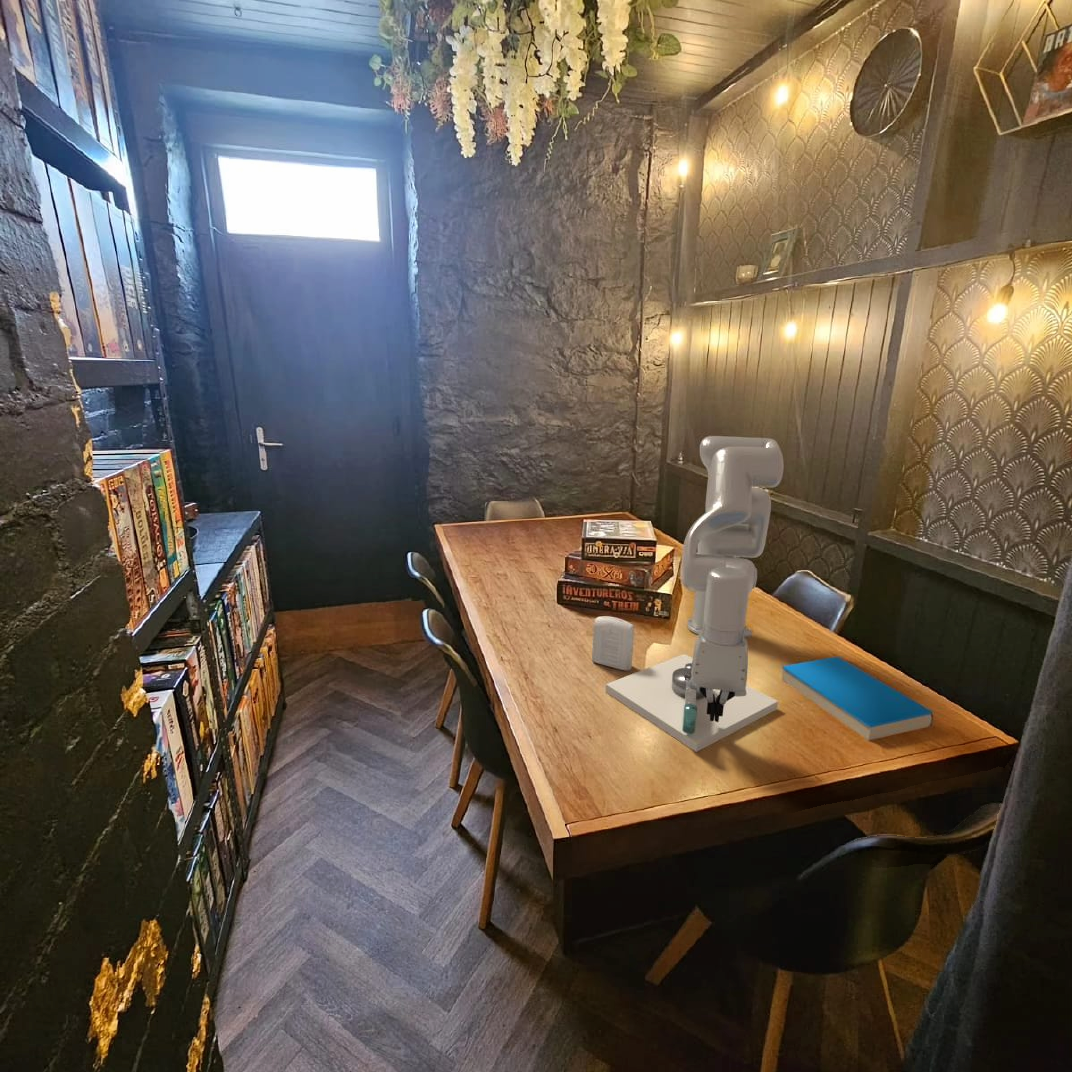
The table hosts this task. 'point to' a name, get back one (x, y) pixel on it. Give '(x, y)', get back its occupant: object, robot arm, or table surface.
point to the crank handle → (686, 696)
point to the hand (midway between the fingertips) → (714, 717)
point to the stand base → (666, 708)
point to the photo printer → (613, 642)
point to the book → (856, 698)
